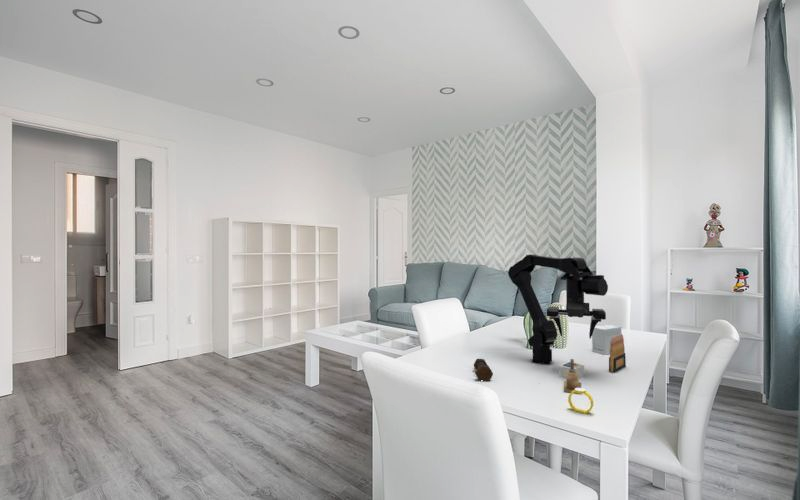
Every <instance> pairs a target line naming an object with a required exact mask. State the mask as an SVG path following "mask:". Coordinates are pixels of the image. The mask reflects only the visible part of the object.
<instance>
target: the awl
mask: <svg viewBox="0 0 800 500" xmlns="http://www.w3.org/2000/svg"><path fill="white" fill-rule="evenodd" d="M570 362H571V368H569V370H567V379H566V381H567V388H568V389H572V390H575V388H578V382H579V379H578V372H577V371H575V369H574V363H575V360H574V359H573V358H570Z"/></svg>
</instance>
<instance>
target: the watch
mask: <svg viewBox="0 0 800 500" xmlns="http://www.w3.org/2000/svg"><path fill="white" fill-rule="evenodd" d="M575 392H576V393H580V394H579V395H582V394H583V395H585V396H586V397H587V398H588V399H589V402H590V407H589V409H587V410H585V409H581V408H577V407H576V406H575V405H574V404H573V402H572V395H573V394H575ZM567 401H568V405H569V407H570V408H571V409H572V410H573V411H575V412H578V413H584V414H588V413H590V412H591V411H592V409H593V408H594V399H593V397H592V396H591V394H590V393H589V392H588V391H587V389H585V388H583V387H582V388H575V390H573V391H572V392H571V393H569V395H568V399H567Z"/></svg>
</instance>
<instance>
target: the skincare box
mask: <svg viewBox="0 0 800 500" xmlns="http://www.w3.org/2000/svg"><path fill="white" fill-rule="evenodd" d="M621 334H622V326H618V325H611V324H606V325H599V326H597V325H596V326H595V328H594V331H593V334H592V336H591V342H592V343H591V345H592V352H594V353H597V354H601V355H604V356H606V355H610V346H611V339H612V338H614V337H616V336H619V335H621Z"/></svg>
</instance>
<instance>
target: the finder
mask: <svg viewBox="0 0 800 500" xmlns="http://www.w3.org/2000/svg"><path fill="white" fill-rule="evenodd" d="M569 368H571V361H569V362H566V363H564V364H561V365H559V369H558V375H559V378H561V379H565V380H567V370H569ZM574 369H575V371H577V372H578V380H580V379H583V378H584V377H585V365H584V364H580V363H576V362H574Z"/></svg>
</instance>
